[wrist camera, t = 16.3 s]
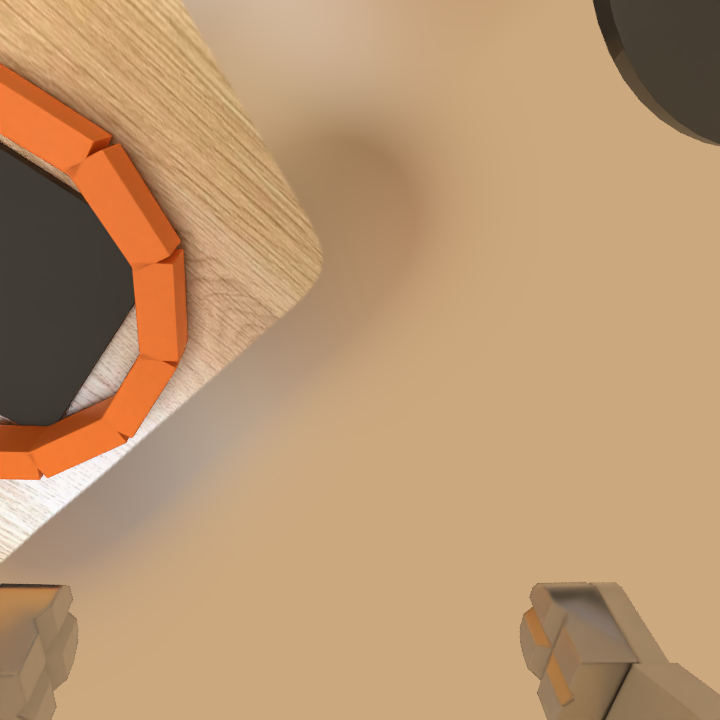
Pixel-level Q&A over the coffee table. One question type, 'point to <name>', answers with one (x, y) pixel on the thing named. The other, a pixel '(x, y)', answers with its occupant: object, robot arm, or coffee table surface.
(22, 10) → the coffee table surface
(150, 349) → the hoop
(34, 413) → the mat
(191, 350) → the coffee table surface
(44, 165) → the coffee table surface
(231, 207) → the coffee table surface
